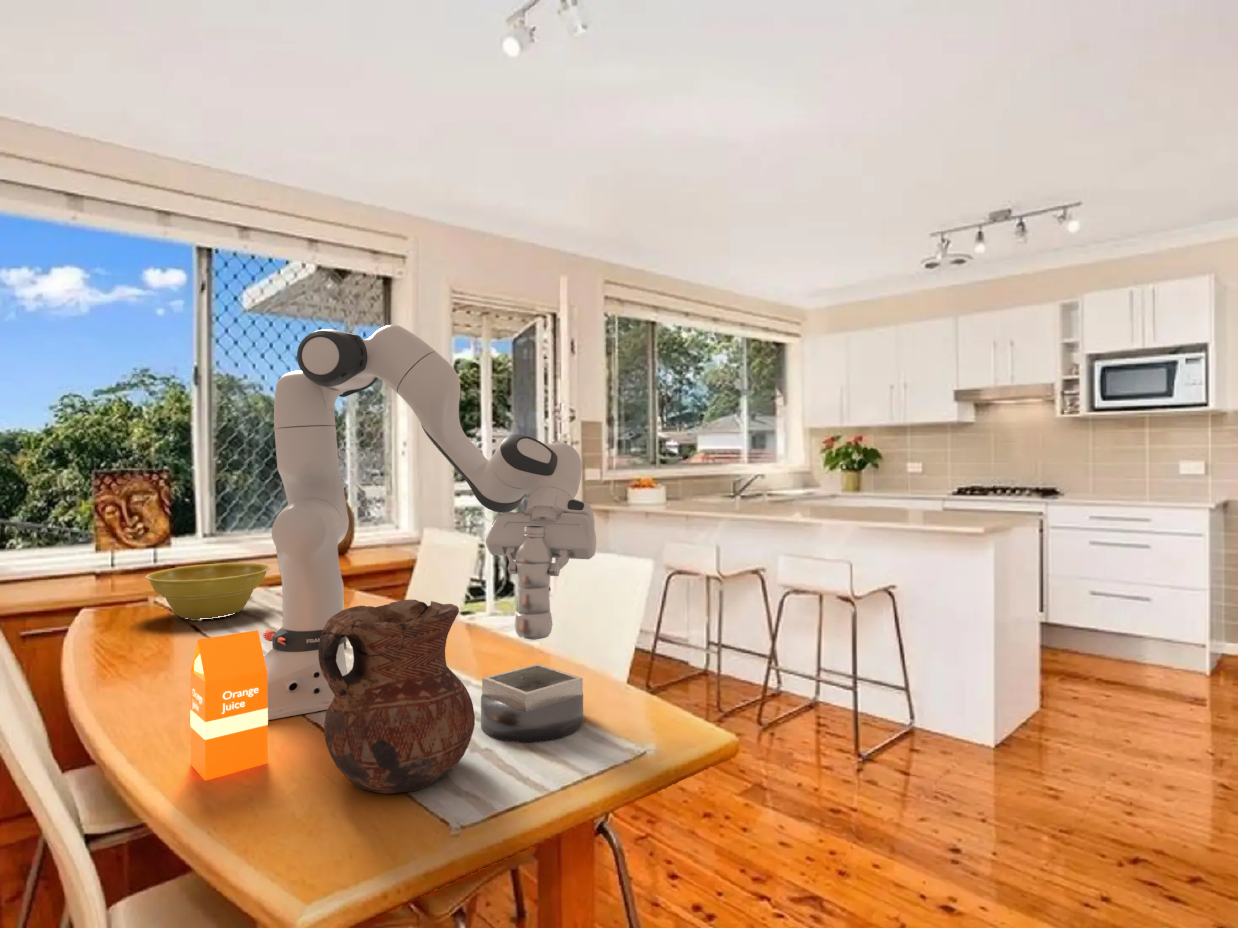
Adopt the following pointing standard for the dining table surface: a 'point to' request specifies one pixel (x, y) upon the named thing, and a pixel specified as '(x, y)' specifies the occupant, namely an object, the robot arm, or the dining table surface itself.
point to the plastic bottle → (533, 585)
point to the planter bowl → (208, 588)
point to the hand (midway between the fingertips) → (532, 573)
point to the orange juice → (228, 705)
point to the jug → (395, 696)
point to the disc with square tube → (531, 704)
